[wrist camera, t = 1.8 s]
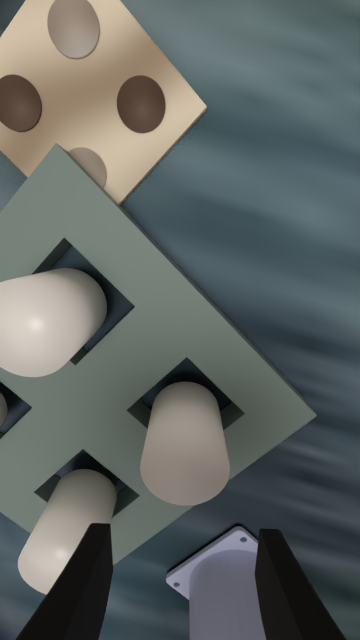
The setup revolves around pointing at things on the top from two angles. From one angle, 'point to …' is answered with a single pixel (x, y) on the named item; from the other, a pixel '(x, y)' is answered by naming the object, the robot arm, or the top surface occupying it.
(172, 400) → the beige cylinder
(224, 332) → the grey-green board with holes
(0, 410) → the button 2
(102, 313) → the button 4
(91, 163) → the tile
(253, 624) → the robot arm
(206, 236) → the top surface
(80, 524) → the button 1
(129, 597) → the top surface
